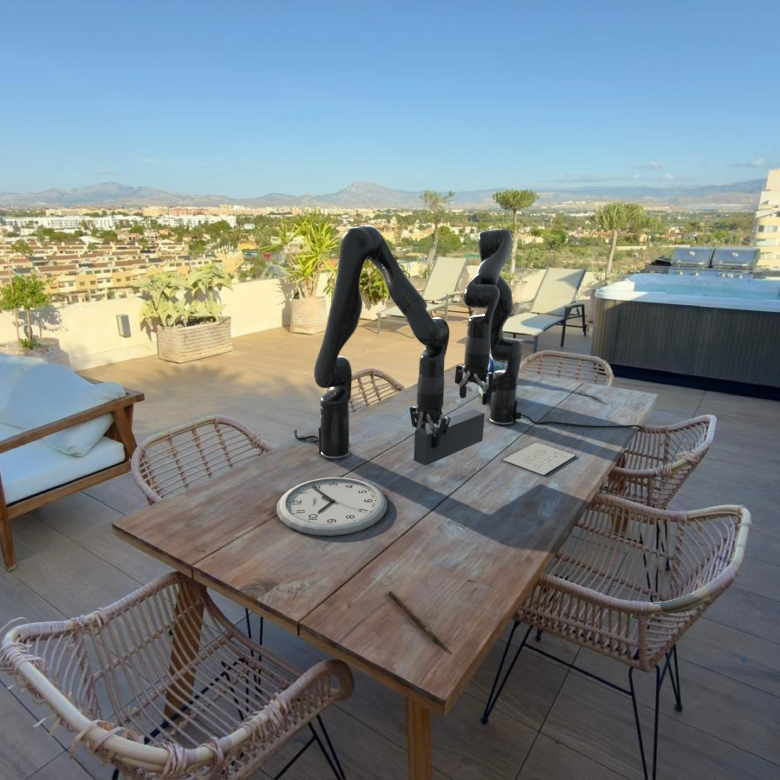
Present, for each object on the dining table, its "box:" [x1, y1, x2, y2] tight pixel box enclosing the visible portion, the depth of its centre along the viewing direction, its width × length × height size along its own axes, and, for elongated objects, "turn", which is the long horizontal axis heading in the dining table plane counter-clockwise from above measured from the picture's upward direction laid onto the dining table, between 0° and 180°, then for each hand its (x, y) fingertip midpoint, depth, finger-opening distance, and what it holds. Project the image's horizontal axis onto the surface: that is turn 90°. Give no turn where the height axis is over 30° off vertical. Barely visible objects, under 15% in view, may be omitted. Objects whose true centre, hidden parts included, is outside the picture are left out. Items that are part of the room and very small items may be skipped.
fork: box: [579, 387, 603, 403], centre depth 238 cm, size 3×16×2 cm, turn 15°
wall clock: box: [276, 476, 388, 537], centre depth 142 cm, size 30×2×30 cm
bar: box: [413, 409, 486, 467], centre depth 160 cm, size 28×5×10 cm, turn 134°
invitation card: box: [502, 442, 577, 476], centre depth 174 cm, size 21×1×15 cm
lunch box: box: [476, 351, 507, 406], centre depth 230 cm, size 26×11×21 cm, turn 179°
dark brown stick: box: [388, 590, 436, 642], centre depth 102 cm, size 15×1×1 cm, turn 34°
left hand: (427, 444), depth 153 cm, fingers closed on bar, 4 cm apart
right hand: (473, 401), depth 164 cm, fingers open, 8 cm apart
